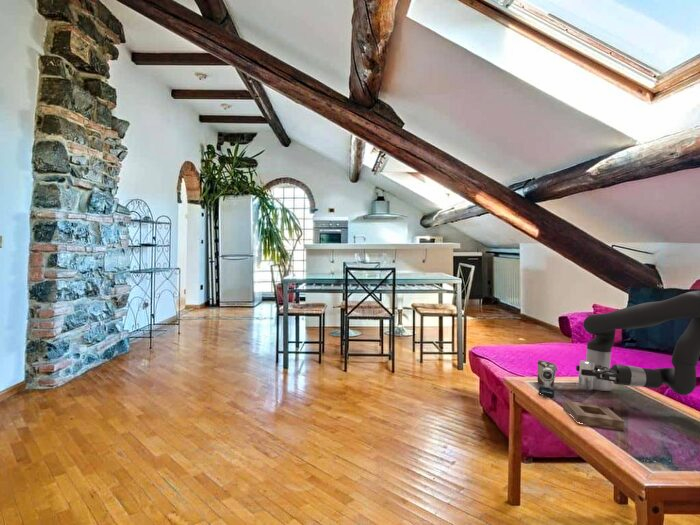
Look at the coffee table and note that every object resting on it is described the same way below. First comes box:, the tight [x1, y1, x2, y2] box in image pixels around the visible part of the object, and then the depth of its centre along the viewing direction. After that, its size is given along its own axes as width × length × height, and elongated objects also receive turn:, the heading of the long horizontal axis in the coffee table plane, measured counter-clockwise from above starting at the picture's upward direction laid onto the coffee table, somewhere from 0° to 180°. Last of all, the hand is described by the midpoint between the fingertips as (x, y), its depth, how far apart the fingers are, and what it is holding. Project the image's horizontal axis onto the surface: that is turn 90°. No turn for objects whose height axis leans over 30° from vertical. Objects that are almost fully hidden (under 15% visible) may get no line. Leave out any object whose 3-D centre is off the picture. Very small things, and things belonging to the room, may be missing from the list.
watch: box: [538, 367, 556, 398], centre depth 157 cm, size 6×8×11 cm
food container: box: [536, 359, 558, 387], centre depth 169 cm, size 12×6×10 cm, turn 171°
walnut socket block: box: [563, 400, 625, 431], centre depth 133 cm, size 14×14×4 cm
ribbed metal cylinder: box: [577, 359, 594, 390], centre depth 148 cm, size 5×5×10 cm
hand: (579, 370), depth 148 cm, fingers closed on ribbed metal cylinder, 4 cm apart
